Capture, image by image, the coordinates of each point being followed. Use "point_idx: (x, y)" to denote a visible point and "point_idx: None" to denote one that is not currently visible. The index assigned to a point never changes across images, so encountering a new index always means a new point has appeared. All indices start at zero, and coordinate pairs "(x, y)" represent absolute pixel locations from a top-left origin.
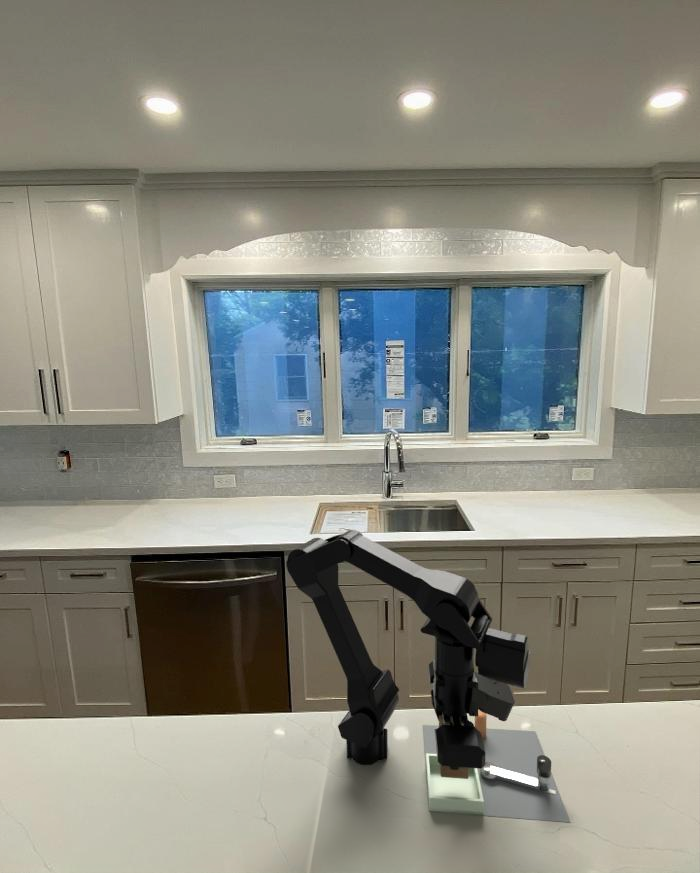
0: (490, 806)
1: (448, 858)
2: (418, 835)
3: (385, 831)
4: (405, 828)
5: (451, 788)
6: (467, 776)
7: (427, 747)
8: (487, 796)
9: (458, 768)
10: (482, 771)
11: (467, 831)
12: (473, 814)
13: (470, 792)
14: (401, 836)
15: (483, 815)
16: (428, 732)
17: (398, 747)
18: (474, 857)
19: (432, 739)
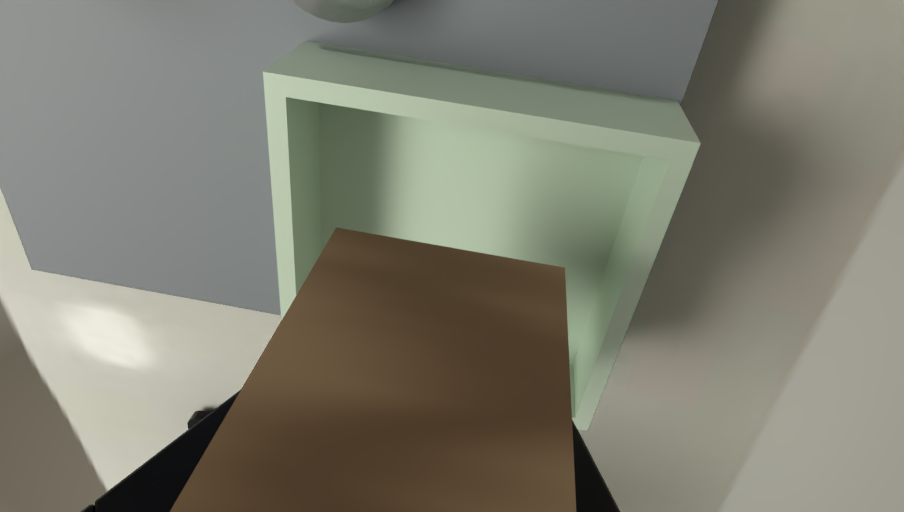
0: (628, 26)
1: (789, 309)
2: (646, 387)
3: (601, 474)
4: (604, 419)
5: (477, 250)
6: (565, 288)
7: (191, 283)
8: (544, 19)
9: (574, 427)
10: (358, 8)
11: (687, 186)
12: None
13: (515, 146)
14: (634, 437)
15: (681, 102)
16: (78, 252)
17: (200, 363)
18: (838, 195)
19: (125, 245)
